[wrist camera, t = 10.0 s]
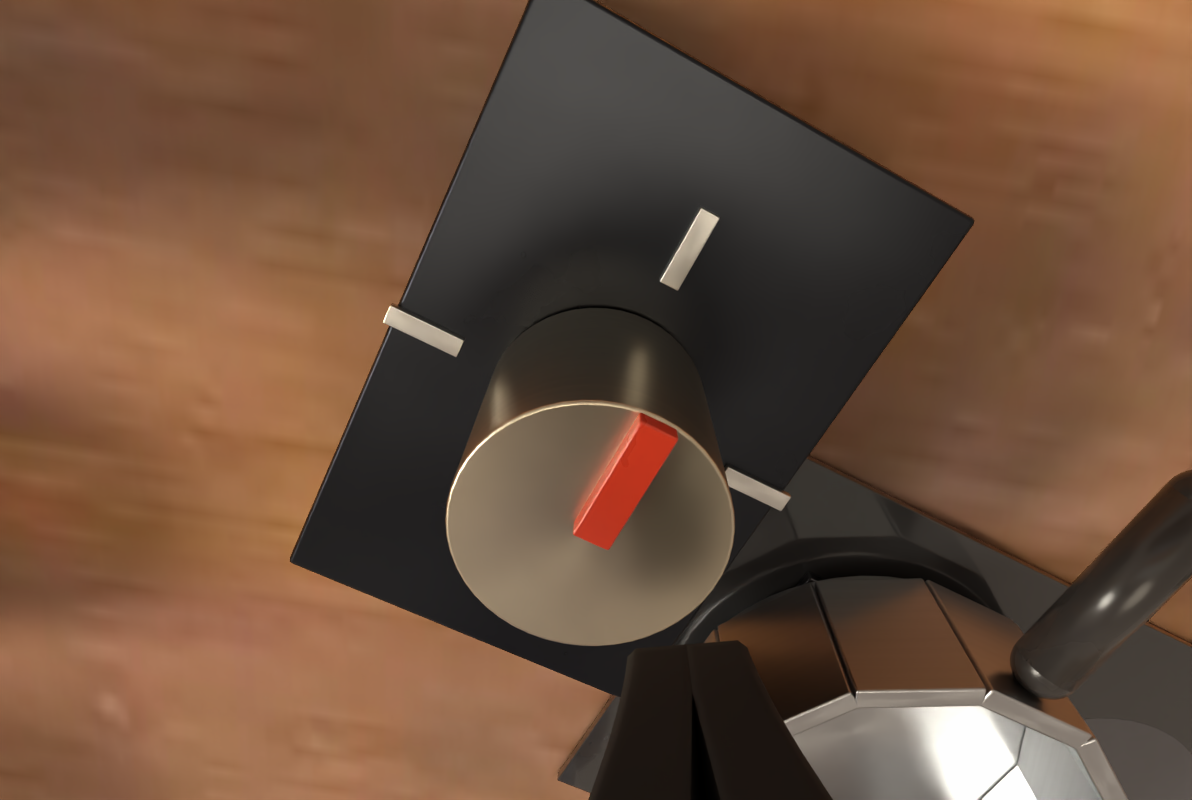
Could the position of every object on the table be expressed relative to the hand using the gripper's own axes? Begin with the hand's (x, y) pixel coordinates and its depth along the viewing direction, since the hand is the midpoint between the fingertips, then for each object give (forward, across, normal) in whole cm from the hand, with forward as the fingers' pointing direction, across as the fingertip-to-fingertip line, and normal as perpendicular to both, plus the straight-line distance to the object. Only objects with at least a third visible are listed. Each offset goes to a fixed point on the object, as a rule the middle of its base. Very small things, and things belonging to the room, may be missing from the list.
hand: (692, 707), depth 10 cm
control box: (+10, +1, -1) cm, 11 cm away
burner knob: (+6, +1, -1) cm, 6 cm away
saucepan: (+10, -6, +8) cm, 14 cm away
